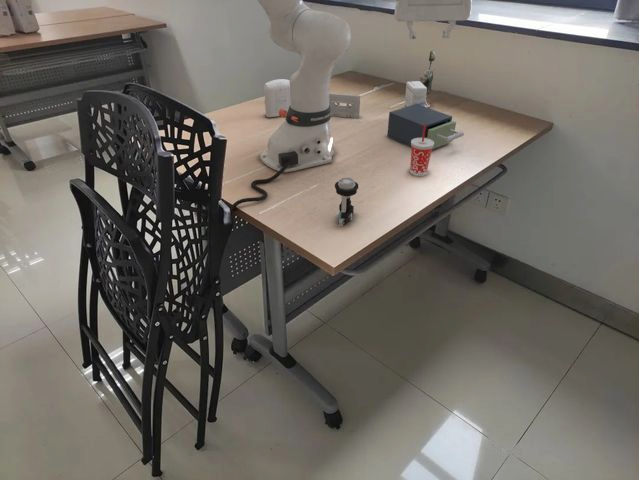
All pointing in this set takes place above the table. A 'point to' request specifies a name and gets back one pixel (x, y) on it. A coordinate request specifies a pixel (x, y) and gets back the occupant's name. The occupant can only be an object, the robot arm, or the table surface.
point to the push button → (346, 198)
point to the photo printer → (276, 96)
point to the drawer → (442, 133)
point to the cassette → (344, 110)
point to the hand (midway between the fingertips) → (428, 38)
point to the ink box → (415, 93)
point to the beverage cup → (420, 155)
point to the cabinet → (413, 122)
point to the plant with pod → (428, 77)
